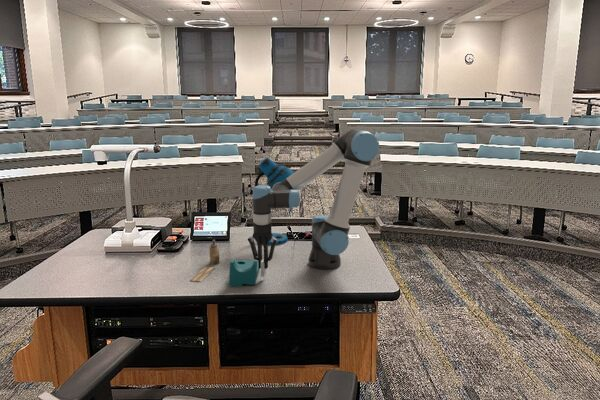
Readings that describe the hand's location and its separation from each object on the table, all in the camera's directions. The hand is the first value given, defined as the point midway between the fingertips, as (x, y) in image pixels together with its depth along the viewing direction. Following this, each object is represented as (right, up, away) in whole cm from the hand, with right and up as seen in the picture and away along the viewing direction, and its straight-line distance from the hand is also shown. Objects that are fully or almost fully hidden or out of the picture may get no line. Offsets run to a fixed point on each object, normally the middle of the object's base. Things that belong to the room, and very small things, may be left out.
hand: (263, 275), depth 208 cm
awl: (-25, +3, +21) cm, 32 cm away
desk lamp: (+3, +10, +53) cm, 54 cm away
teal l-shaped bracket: (-8, -2, +2) cm, 9 cm away
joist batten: (-27, -1, +6) cm, 28 cm away
